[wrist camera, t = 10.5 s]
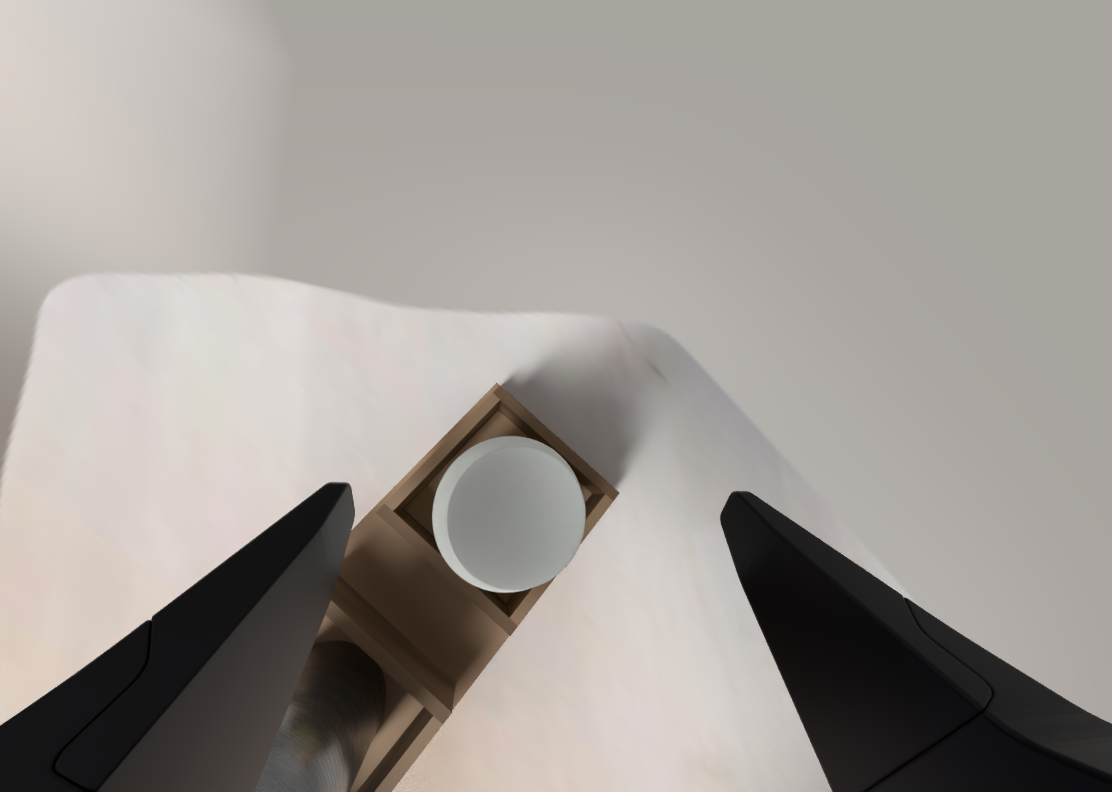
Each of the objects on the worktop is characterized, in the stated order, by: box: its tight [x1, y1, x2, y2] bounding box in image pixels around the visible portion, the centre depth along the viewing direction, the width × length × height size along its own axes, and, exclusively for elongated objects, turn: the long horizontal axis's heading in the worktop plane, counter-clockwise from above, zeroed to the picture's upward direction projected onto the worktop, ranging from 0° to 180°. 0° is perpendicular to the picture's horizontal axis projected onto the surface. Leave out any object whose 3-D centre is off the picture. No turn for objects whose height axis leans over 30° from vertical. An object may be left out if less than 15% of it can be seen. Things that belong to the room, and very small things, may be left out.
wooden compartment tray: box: [313, 383, 619, 792], centre depth 18 cm, size 20×9×4 cm, turn 139°
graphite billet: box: [255, 641, 386, 792], centre depth 12 cm, size 5×5×10 cm
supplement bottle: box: [432, 436, 586, 593], centre depth 16 cm, size 5×5×10 cm
